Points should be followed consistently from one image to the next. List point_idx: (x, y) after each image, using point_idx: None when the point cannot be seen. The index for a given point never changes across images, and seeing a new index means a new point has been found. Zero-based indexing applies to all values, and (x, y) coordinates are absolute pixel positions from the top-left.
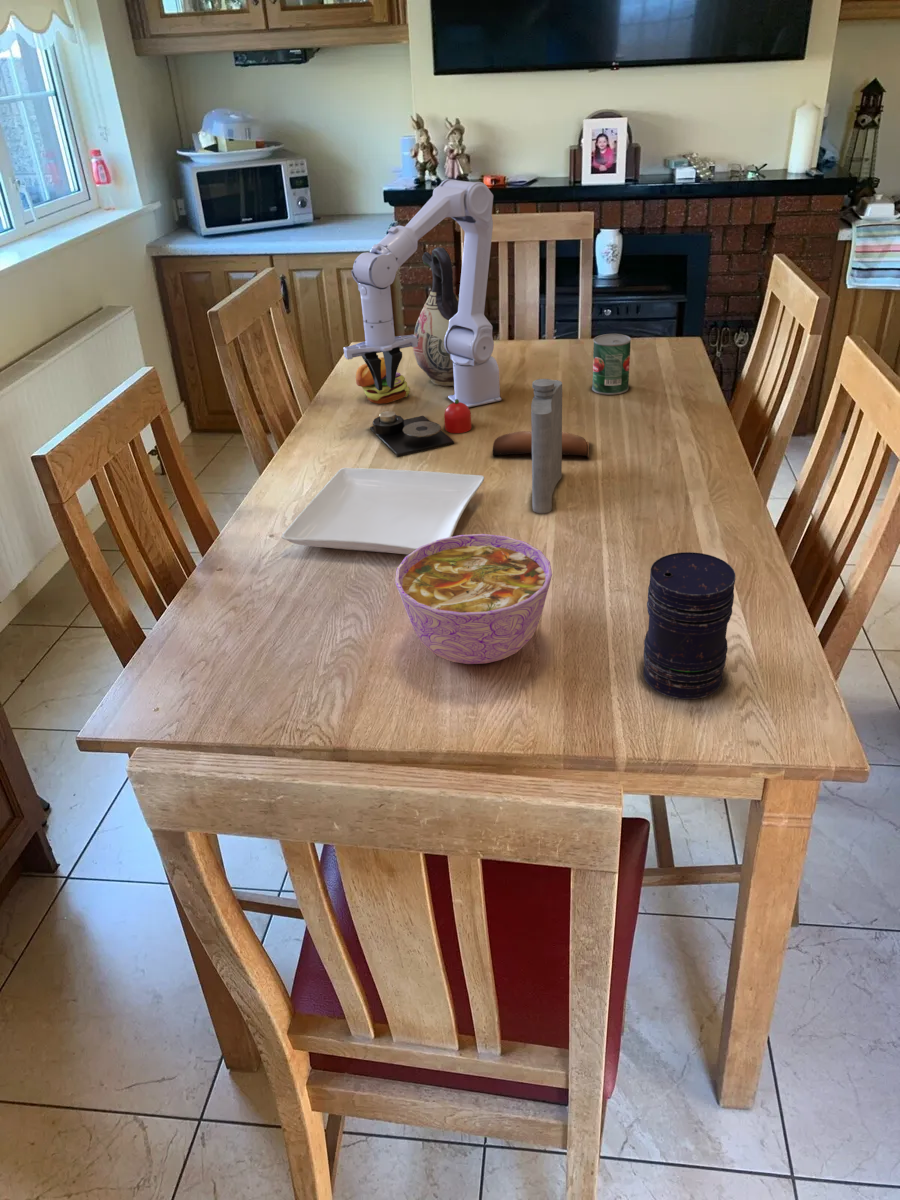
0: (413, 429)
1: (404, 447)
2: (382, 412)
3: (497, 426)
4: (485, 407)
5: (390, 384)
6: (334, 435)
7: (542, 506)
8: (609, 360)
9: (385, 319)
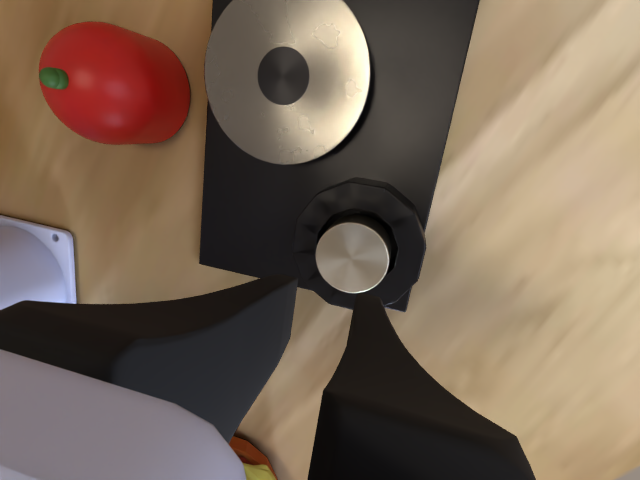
0: (317, 90)
1: (418, 13)
2: (360, 288)
3: (30, 11)
4: (12, 196)
5: (289, 291)
6: (544, 358)
7: None
8: None
9: None
